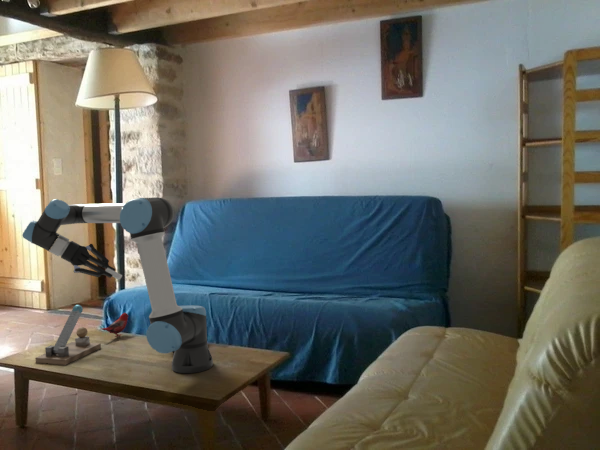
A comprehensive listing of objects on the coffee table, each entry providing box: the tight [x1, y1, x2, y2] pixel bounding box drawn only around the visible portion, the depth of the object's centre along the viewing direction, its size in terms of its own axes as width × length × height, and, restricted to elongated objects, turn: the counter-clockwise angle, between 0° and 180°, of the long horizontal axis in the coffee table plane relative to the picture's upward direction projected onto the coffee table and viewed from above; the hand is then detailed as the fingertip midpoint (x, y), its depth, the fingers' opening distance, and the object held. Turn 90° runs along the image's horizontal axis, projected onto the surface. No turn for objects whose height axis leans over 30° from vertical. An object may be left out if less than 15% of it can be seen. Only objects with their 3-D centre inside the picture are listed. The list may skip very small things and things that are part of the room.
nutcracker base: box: [35, 326, 102, 366], centre depth 223 cm, size 22×14×9 cm, turn 165°
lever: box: [52, 304, 84, 355], centre depth 222 cm, size 4×4×22 cm
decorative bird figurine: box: [99, 312, 130, 338], centre depth 247 cm, size 3×18×10 cm, turn 153°
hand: (120, 277), depth 216 cm, fingers closed
